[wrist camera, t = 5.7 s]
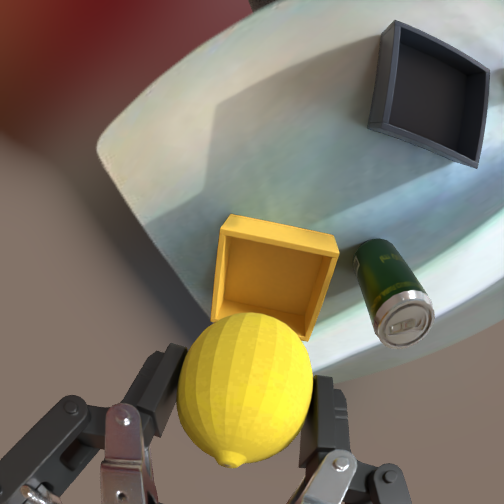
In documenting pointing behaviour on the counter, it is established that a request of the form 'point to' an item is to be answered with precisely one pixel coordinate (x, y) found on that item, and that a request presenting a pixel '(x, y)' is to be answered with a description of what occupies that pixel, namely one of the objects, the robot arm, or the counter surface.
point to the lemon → (244, 389)
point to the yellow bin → (272, 272)
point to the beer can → (392, 295)
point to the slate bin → (430, 94)
